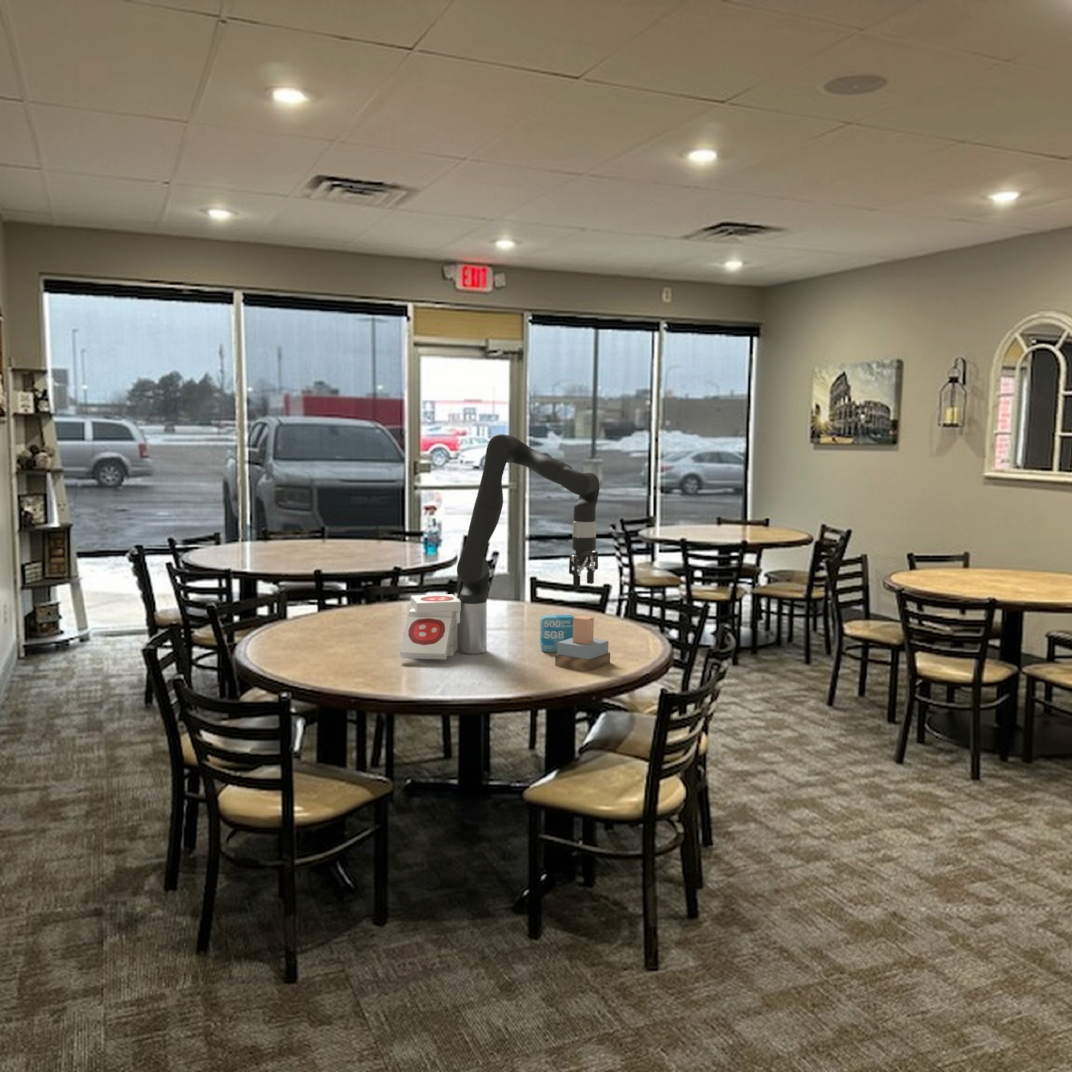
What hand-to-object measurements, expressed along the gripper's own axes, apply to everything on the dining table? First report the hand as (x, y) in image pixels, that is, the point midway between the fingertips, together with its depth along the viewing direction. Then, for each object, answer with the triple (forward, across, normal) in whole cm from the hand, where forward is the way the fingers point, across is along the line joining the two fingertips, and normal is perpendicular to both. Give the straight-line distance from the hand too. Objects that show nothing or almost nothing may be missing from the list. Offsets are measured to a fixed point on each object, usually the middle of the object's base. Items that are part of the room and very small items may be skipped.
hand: (583, 585), depth 306 cm
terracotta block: (+18, 0, 0) cm, 18 cm away
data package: (+26, -12, -17) cm, 33 cm away
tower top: (+22, 0, 0) cm, 23 cm away
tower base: (+26, 0, 0) cm, 27 cm away
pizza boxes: (+26, +17, -49) cm, 58 cm away
